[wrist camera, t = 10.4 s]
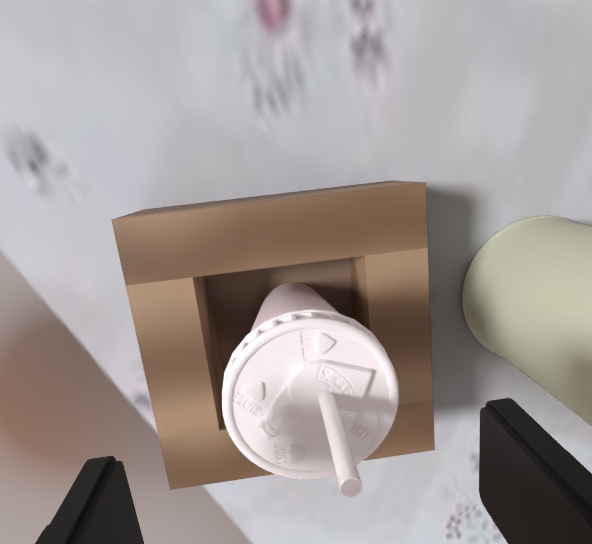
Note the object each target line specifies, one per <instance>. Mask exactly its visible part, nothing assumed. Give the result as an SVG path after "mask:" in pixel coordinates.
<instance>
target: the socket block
mask: <svg viewBox="0 0 592 544" xmlns="http://www.w3.org/2000/svg"><path fill="white" fill-rule="evenodd" d="M112 225H113V229H114V234H115V238H116V243H117V247H118V252H119V257H120V261H121V266H122V270H123V275H124V280H125V284H126V289H127V293H128V298H129V303H130V307H131V312H132V316H133V321H134V326H135V330H136V335H137V339H138V344H139V348H140V353H141V358H142V362H143V367H144V371H145V376H146V381H147V385H148V390H149V394H150V399H151V404H152V408H153V413H154V417H155V422H156V427H157V431H158V436H159V440H160V445H161V449H162V454H163V458H164V463H165V468H166V472H167V477H168V481H169V486H170V489H171V490H172V489H178V488H185V487H191V486H198V485H205V484H212V483H218V482H225V481H232V480H238V479H245V478H252V477H258V476H265V475H271V474H274V473H271V472H269V471H267V470H265V469H263V468H261V467H259V466H257V465H256V464H255V463H253V462H252V461H250V460H249V459H248V458H247V457H246V456H245V455H244V454H243V453H242V452H241V451H240V450H239V449H238V448H237V446H236V445H235V443H234V442H233V440H232V439H231V437H230V435H229V433H228V431H227V428H226V425H225V422H224V418H223V411H222V389H223V380H224V372H225V370H226V368H227V365H228V363H229V360H230V358H231V356H232V353H233V352H234V351H235V349H236V348H237V347H238V346H239V344H240V343H241V342H242V340H243V339H244V338H245V337H246V335H248V334H249V333H250V332H251V329H252V327H253V325H254V322H255V320H256V318H257V315H258V313H259V311H260V308H261V306H262V304H263V301H264V299H265V298H266V296H267V295H268V294H269V293H270V292H271V291H272V290H273V289H274V288H276V287H278V286H279V285H282V284H285V283H292V282H295V283H302V284H305V285H307V286H309V287H311V288H312V289H314V290H315V291H316V292H317V293H318V294H319V295H320V296H321V297H322V298H323V299H325V300H326V301H327V302H328V303H329V304H330V305H331V306H332V307H333V308H334V309H335V310H336V311H337V312H338V313H340V314H341V315H344V316H346V317H349V318H352V319H354V320H356V321H357V322H358V323H360V324H361V325H362V326H364V327H365V328H367V329H368V330H369V331H371V332H372V333H373V334H374V336H375V337H376V338H377V340H378V341H379V342H380V344H381V345H382V346H383V348H384V349H385V351H386V354H387V356H388V358H389V359H390V361H391V363H392V365H393V368H394V370H395V373H396V377H397V381H398V388H399V400H398V408H397V413H396V416H395V419H394V422H393V424H392V427H391V429H390V431H389V432H388V434H387V436H386V437H385V439H384V440H383V442H382V443H381V444H380V445H379V447H378V448H377V449H376V450H375V451H374V452H373V453H372V454H371V455H369V456H368V457H367V458H366V459H364V460H371V459H378V458H384V457H391V456H398V455H404V454H411V453H418V452H424V451H431V450H435V444H434V415H433V386H432V357H431V328H430V300H429V271H428V242H427V213H426V185H425V183H421V182H405V181H385V182H376V183H368V184H359V185H351V186H342V187H334V188H325V189H316V190H308V191H299V192H291V193H282V194H274V195H265V196H257V197H248V198H239V199H231V200H222V201H214V202H205V203H197V204H188V205H180V206H171V207H163V208H154V209H145V210H141V211H138V212H135V213H131V214H128V215H125V216H122V217H119V218H115V219H112ZM364 460H363V461H364Z"/></svg>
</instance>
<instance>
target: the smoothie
mask: <svg viewBox="0 0 592 544" xmlns="http://www.w3.org/2000/svg"><path fill="white" fill-rule="evenodd" d="M398 400H399V388H398V381H397V377H396V373H395V370H394V368H393V365H392V363H391V361H390V359H389V358H388V356H387V354H386V351H385V349H384V348H383V346H382V345H381V344H380V342H379V341H378V340H377V338H376V337H375V336H374V334H373V333H372V332H371V331H369V330H368V329H367V328H365V327H364V326H362V325H361V324H360V323H358V322H357V321H356V320H354V319H352V318H349V317H346V316H344V315H341V314H340V313H338V312H337V311H336V310H335V309H334V308H333V307H332V306H331V305H330V304H329V303H328V302H327V301H326V300H325V299H323V298H322V297H321V296H320V295H319V294H318V293H317V292H316V291H315V290H314V289H312V288H311V287H309V286H307V285H305V284H302V283H295V282H292V283H285V284H282V285H279V286H278V287H276V288H274V289H273V290H272V291H271V292H270V293H269V294H268V295H267V296H266V298H265V299H264V301H263V304H262V306H261V308H260V311H259V313H258V315H257V318H256V320H255V322H254V325H253V327H252V329H251V332H250V333H249V334H248V335H246V337H245V338H244V339H243V340H242V342H241V343H240V344H239V346H238V347H237V348H236V349H235V351H234V352H233V353H232V356H231V358H230V360H229V363H228V365H227V368H226V370H225V372H224V380H223V389H222V411H223V418H224V422H225V425H226V428H227V431H228V433H229V435H230V437H231V439H232V440H233V442H234V443H235V445H236V446H237V448H238V449H239V450H240V451H241V452H242V453H243V454H244V455H245V456H246V457H247V458H248V459H249V460H250V461H252V462H253V463H255V464H256V465H257V466H259V467H261V468H263V469H265V470H267V471H269V472H271V473H274V474H277V475H280V476H284V477H289V478H296V479H315V478H322V477H327V476H331V475H335V474H337V478H338V482H339V486H340V490H341V493H342V494H343V495H344V496H346V497H354V496H357V495H358V494H359V493H360V492H361V490H362V483H361V480H360V477H359V474H358V470H357V467H356V465H357V464H359V463H360V462H362V461H363V460H364V459H366V458H367V457H368V456H369V455H371V454H372V453H373V452H374V451H375V450H376V449H377V448H378V447H379V445H380V444H381V443H382V442H383V440H384V439H385V437H386V436H387V434H388V432H389V431H390V429H391V427H392V424H393V422H394V419H395V416H396V413H397V408H398Z"/></svg>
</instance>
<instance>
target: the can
mask: <svg viewBox="0 0 592 544" xmlns="http://www.w3.org/2000/svg"><path fill="white" fill-rule="evenodd" d="M462 307H463V313H464V317H465V320H466V322H467V325H468V327H469V329H470V331H471V332H472V334H473V335H474V337H475V338H476V339H477V340H478V341H479V342H480V343H481V344H482V345H483V346H484V347H485V348H487V349H488V350H490V351H492V352H493V353H495V354H497V355H500V356H501V357H503V358H504V359H506V360H507V361H508V362H510V363H511V364H512V365H514V366H515V367H516V368H518V369H519V370H520V371H521V372H523V373H524V374H525V375H527V376H528V377H529V378H531V379H532V380H533V381H534V382H536V383H537V384H538V385H540V386H541V387H542V388H544V389H545V390H546V391H547V392H549V393H550V394H551V395H553V396H554V397H555V398H557V399H558V400H559V401H560V402H562V403H563V404H564V405H566V406H567V407H568V408H569V409H571V410H572V411H573V412H574V413H576V414H577V415H578V416H580V417H581V418H582V419H583V420H585V421H586V422H587V423H588V424H590V425H591V426H592V226H591V225H586V224H580V223H575V222H573V221H570V220H568V219H564V218H560V217H555V216H536V217H530V218H526V219H522V220H519V221H517V222H514V223H512V224H510V225H508V226H506V227H505V228H503V229H501V230H500V231H498V232H497V233H496V234H494V235H493V236H492V237H491V238H490V239H489V240H488V241H487V242H486V243H485V244H484V245H483V246H482V247H481V248H480V250H479V251H478V252H477V254H476V255H475V257H474V258H473V260H472V262H471V264H470V266H469V268H468V271H467V273H466V276H465V279H464V284H463V290H462Z"/></svg>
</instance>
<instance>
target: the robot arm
mask: <svg viewBox="0 0 592 544" xmlns="http://www.w3.org/2000/svg"><path fill="white" fill-rule="evenodd" d="M479 493H480V497H481V500H482V503H483V505H484V507H485V508H486V510H487V512H488V513H489V515H490V516H491V518H492V519H493V521H494V522H495V524H496V526H497V527H498V529H499V530H500V532H501V533H502V535H503V536H504V538H505V540H506V541H507V543H508V544H592V474H591V473H590V472H589V471H588V470H587V469H586V468H585V467H584V466H583V465H582V464H581V463H580V462H579V461H577V460H576V459H575V458H574V457H573V456H572V455H571V454H570V453H569V452H568V451H567V450H565V449H564V448H563V447H562V446H561V445H560V444H559V443H558V442H557V441H556V440H555V439H554V438H553V437H551V436H550V435H549V434H548V433H547V432H546V431H545V430H544V429H543V428H542V427H541V426H540V425H539V424H538V423H537V422H536V421H535V420H534V419H533V418H532V417H531V416H529V415H528V414H527V413H526V412H525V411H524V410H523V409H522V408H521V407H520V406H519V405H518V404H517V403H516V402H515V401H514V400H512V399H511V398H505V399H498V400H491V401H488V402H487V403H486V407H484V408H481V410H480V463H479ZM35 544H144V541H143V538H142V534H141V530H140V527H139V522H138V519H137V515H136V511H135V507H134V503H133V500H132V496H131V492H130V488H129V484H128V481H127V477H126V473H125V470H124V465H123V463H122V462H121V461H116V460H115V458H114V457H113V456H107V457H100V458H93V459H89V460H87V462H86V463H85V464H84V466H83V468H82V470H81V471H80V473H79V475H78V477H77V478H76V480H75V482H74V483H73V485H72V487H71V489H70V490H69V492H68V494H67V496H66V497H65V499H64V501H63V502H62V504H61V506H60V508H59V509H58V511H57V513H56V515H55V516H54V518H53V520H52V522H51V523H50V524H49V525H47V526H46V528H45V529H44V530H43V532H42V533H41V535H40V536H39V538H38V540H37V542H36V543H35Z"/></svg>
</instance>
